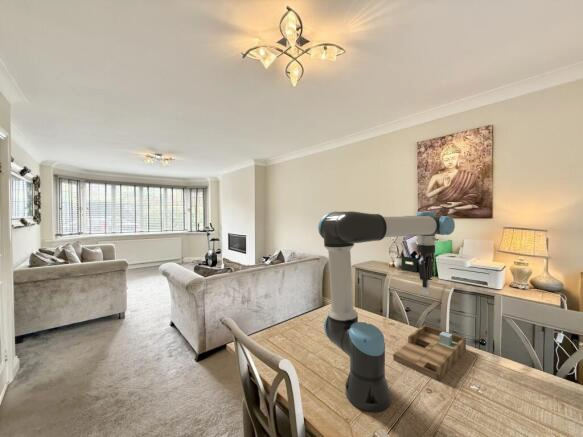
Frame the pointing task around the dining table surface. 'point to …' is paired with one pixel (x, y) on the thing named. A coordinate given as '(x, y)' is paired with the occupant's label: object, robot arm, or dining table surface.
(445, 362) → the box
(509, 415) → the dining table surface
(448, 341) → the block
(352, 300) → the robot arm
